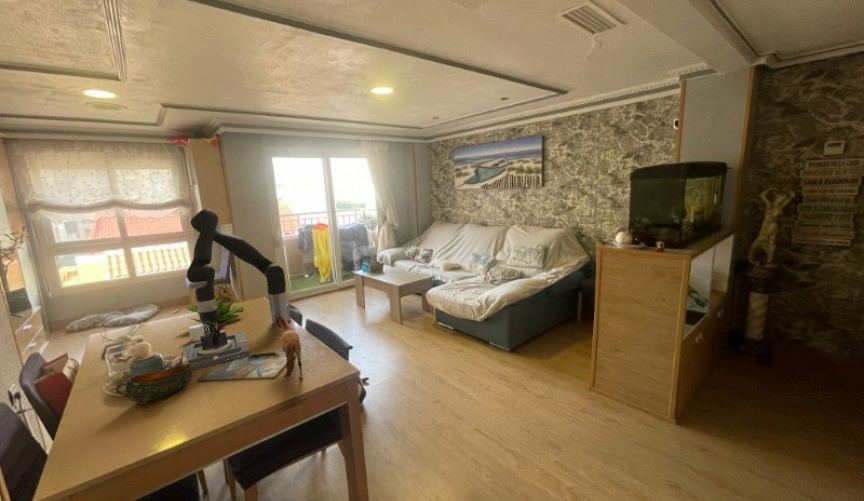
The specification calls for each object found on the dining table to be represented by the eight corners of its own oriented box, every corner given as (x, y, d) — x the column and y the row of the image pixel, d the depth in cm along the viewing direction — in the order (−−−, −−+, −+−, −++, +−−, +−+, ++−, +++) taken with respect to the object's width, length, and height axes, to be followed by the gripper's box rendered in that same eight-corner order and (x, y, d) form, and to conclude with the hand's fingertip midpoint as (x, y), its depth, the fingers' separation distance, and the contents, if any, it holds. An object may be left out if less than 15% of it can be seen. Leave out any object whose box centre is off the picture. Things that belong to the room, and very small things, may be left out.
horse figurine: (280, 357, 154) (274, 313, 151) (299, 352, 158) (293, 309, 154) (285, 392, 127) (276, 339, 123) (307, 385, 130) (300, 334, 126)
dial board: (245, 335, 181) (244, 329, 180) (249, 354, 159) (248, 347, 158) (184, 350, 167) (183, 343, 167) (180, 373, 145) (178, 365, 145)
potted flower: (222, 332, 187) (217, 301, 184) (179, 334, 188) (173, 303, 185) (247, 315, 212) (243, 287, 209) (209, 317, 213) (204, 290, 209)
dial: (197, 347, 164) (194, 333, 163) (230, 338, 172) (228, 324, 171) (198, 358, 153) (195, 342, 152) (234, 348, 161) (231, 333, 160)
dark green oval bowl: (136, 392, 132) (130, 368, 131) (196, 381, 139) (192, 357, 137) (118, 413, 120) (112, 386, 119) (185, 399, 127) (180, 374, 125)
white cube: (209, 335, 184) (206, 323, 183) (199, 341, 177) (196, 328, 176) (197, 336, 185) (194, 323, 183) (186, 341, 178) (184, 329, 177)
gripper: (193, 308, 161) (200, 343, 164) (204, 314, 152) (211, 350, 155) (211, 303, 166) (217, 337, 169) (223, 308, 158) (229, 344, 161)
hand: (214, 343), depth 162 cm, fingers closed on dial, 3 cm apart
